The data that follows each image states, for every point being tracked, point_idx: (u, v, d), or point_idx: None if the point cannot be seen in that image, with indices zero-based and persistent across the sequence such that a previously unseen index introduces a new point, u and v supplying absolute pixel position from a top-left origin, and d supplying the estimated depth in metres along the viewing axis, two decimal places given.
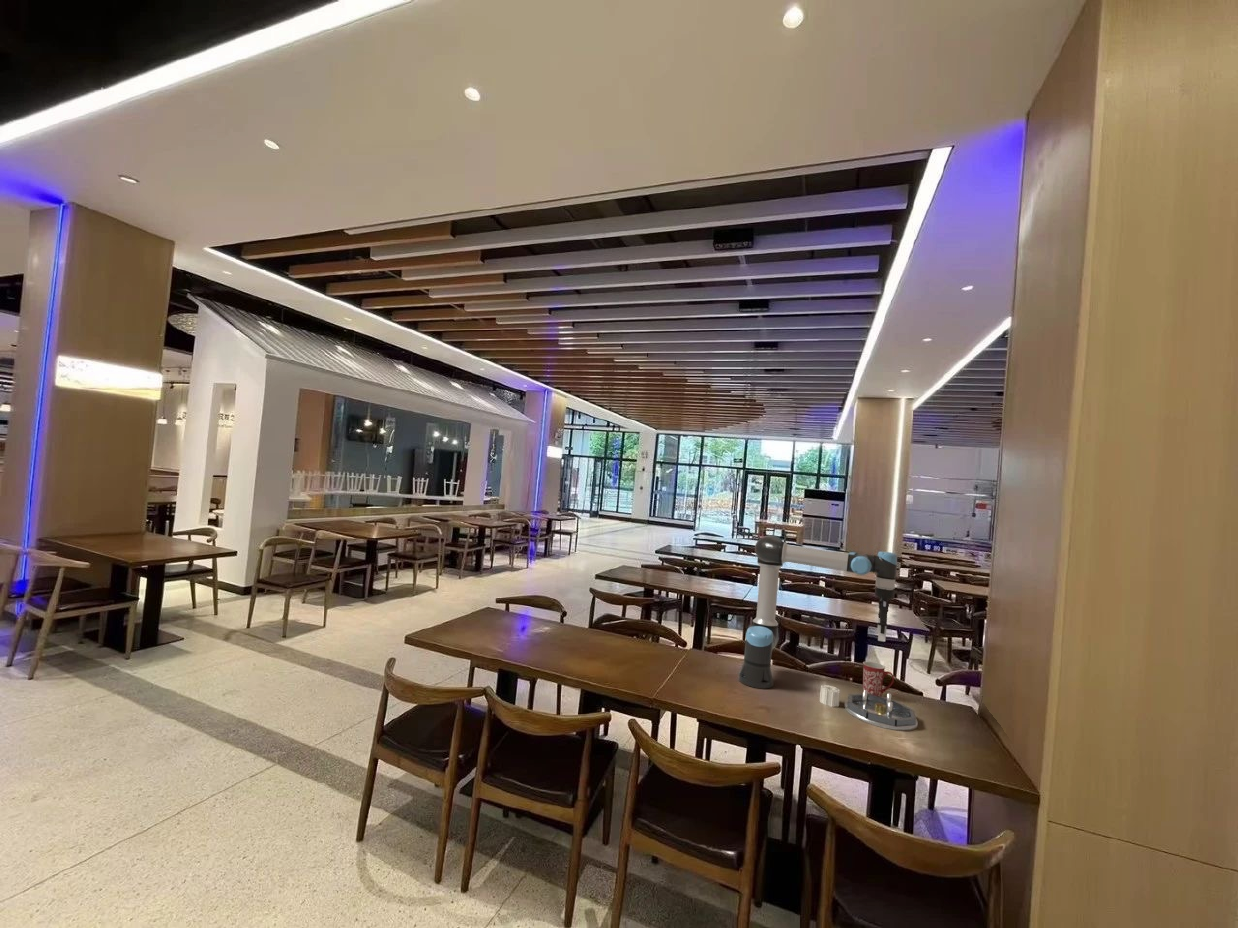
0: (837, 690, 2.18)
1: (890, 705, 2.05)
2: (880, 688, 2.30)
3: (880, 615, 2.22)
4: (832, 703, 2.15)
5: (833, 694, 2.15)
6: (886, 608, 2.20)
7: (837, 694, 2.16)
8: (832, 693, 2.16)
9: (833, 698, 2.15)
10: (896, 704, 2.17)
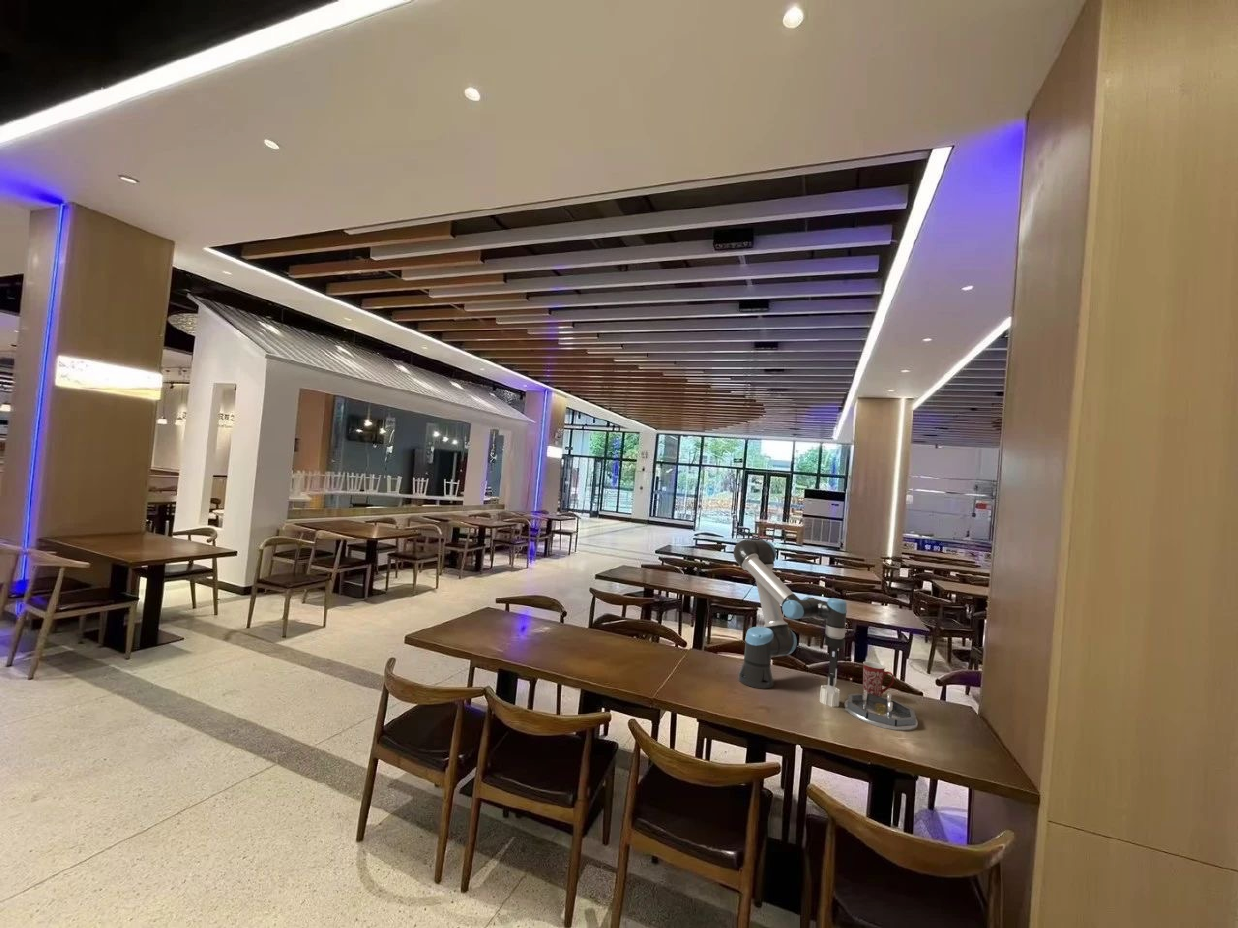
0: (837, 690, 2.18)
1: (890, 705, 2.05)
2: (880, 688, 2.30)
3: None
4: (832, 703, 2.15)
5: (833, 694, 2.15)
6: (835, 659, 2.13)
7: (837, 694, 2.16)
8: None
9: (833, 698, 2.15)
10: (896, 704, 2.17)
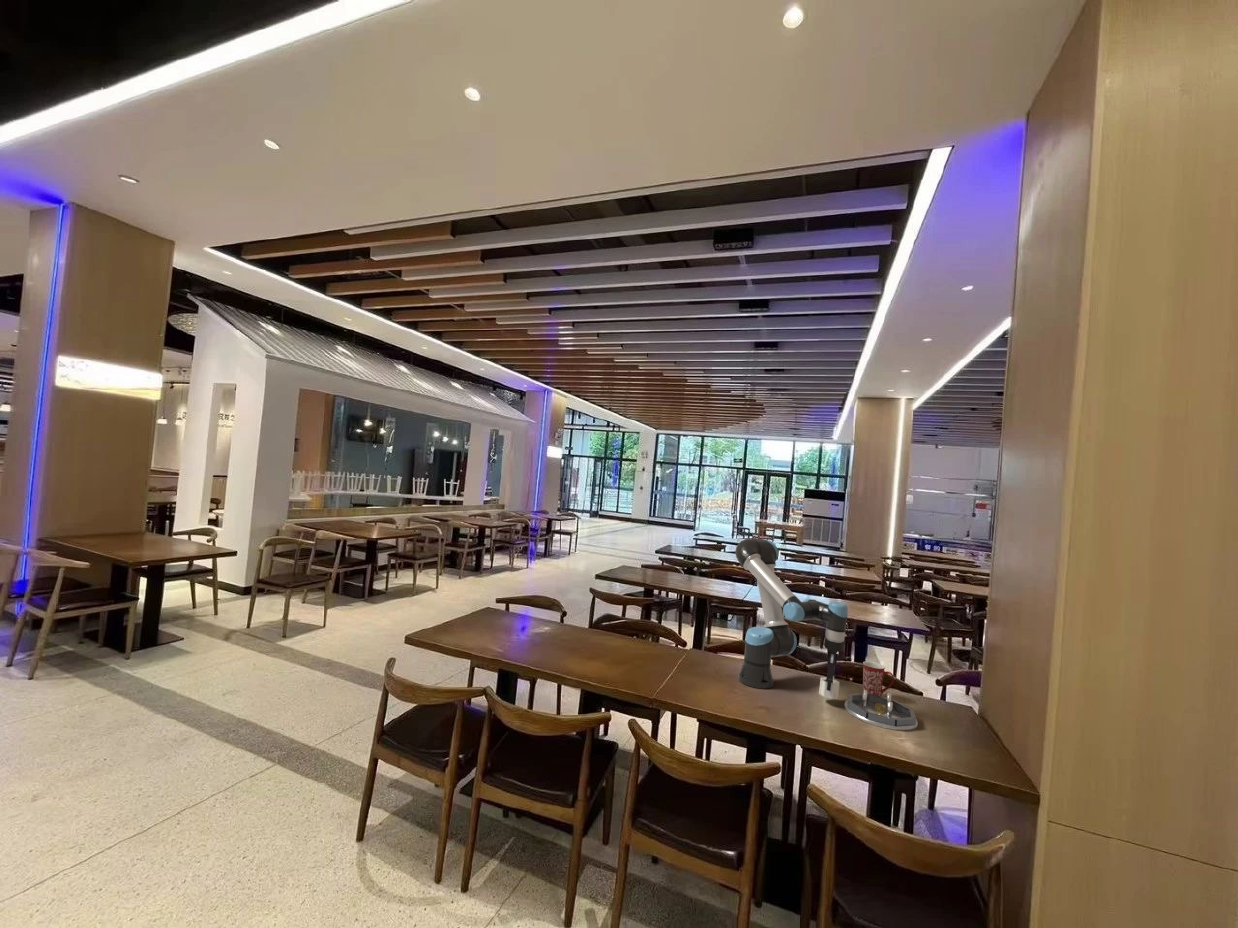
0: (836, 682, 2.18)
1: (890, 705, 2.05)
2: (880, 688, 2.30)
3: None
4: None
5: None
6: (833, 665, 2.14)
7: (836, 686, 2.17)
8: None
9: (832, 690, 2.16)
10: (896, 704, 2.17)
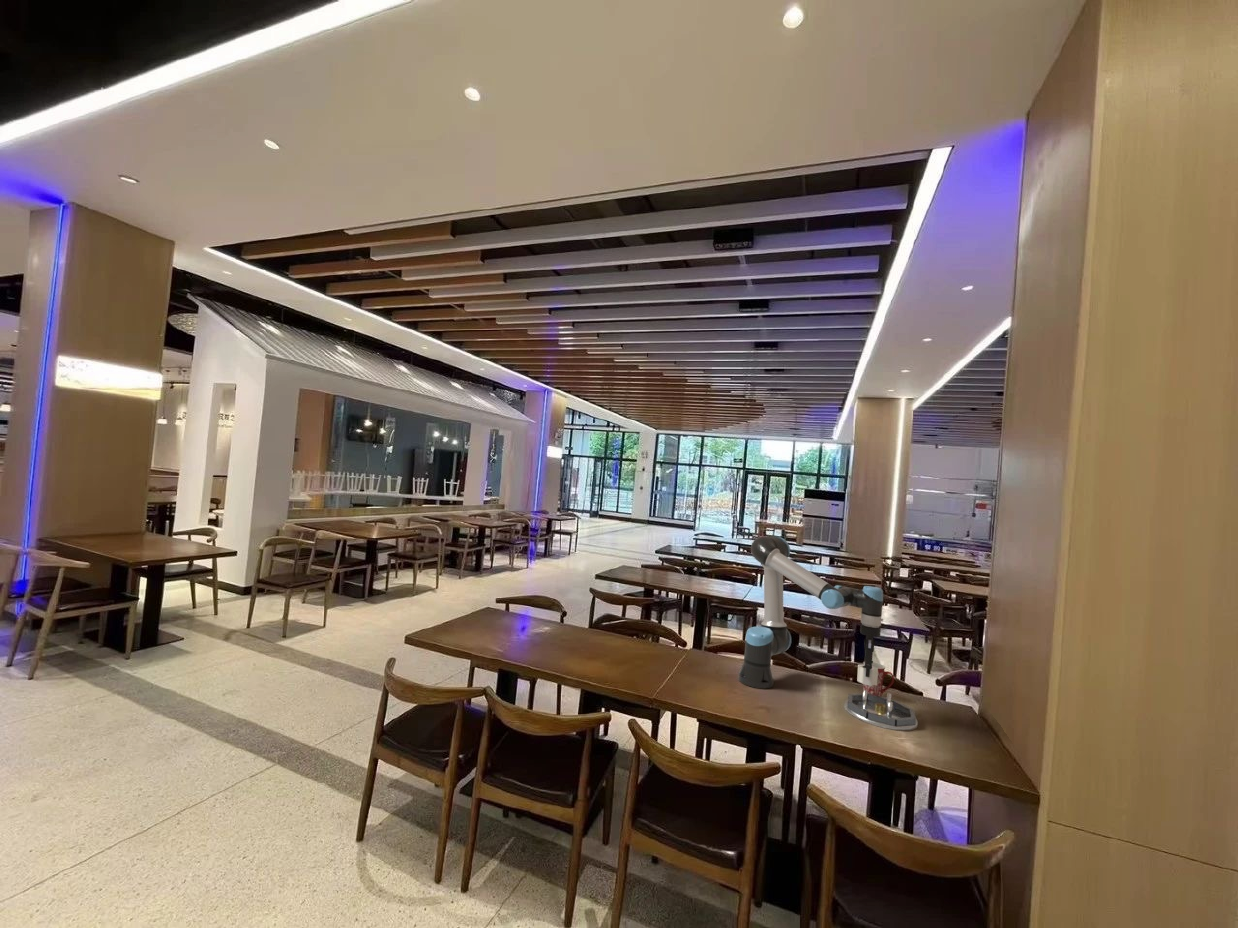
0: (875, 668, 2.13)
1: (890, 705, 2.05)
2: (880, 688, 2.30)
3: (865, 657, 2.12)
4: None
5: (871, 672, 2.11)
6: (871, 650, 2.09)
7: (875, 672, 2.12)
8: None
9: (871, 676, 2.11)
10: (896, 704, 2.17)
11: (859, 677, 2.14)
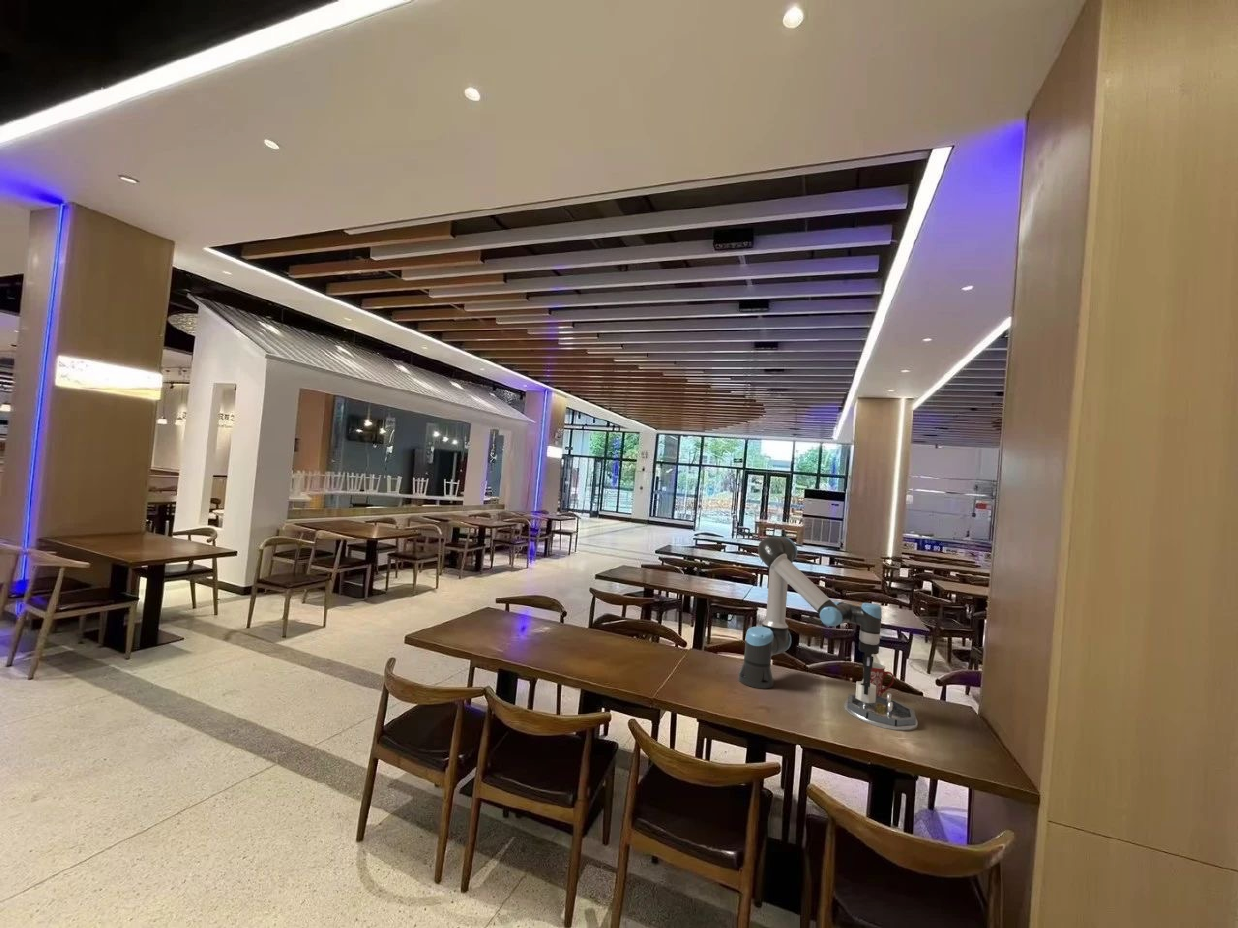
0: (873, 686, 2.13)
1: (890, 705, 2.05)
2: (880, 688, 2.30)
3: None
4: (869, 699, 2.11)
5: (870, 690, 2.11)
6: (870, 668, 2.09)
7: (874, 690, 2.11)
8: None
9: (870, 694, 2.11)
10: (896, 704, 2.17)
11: (857, 694, 2.14)
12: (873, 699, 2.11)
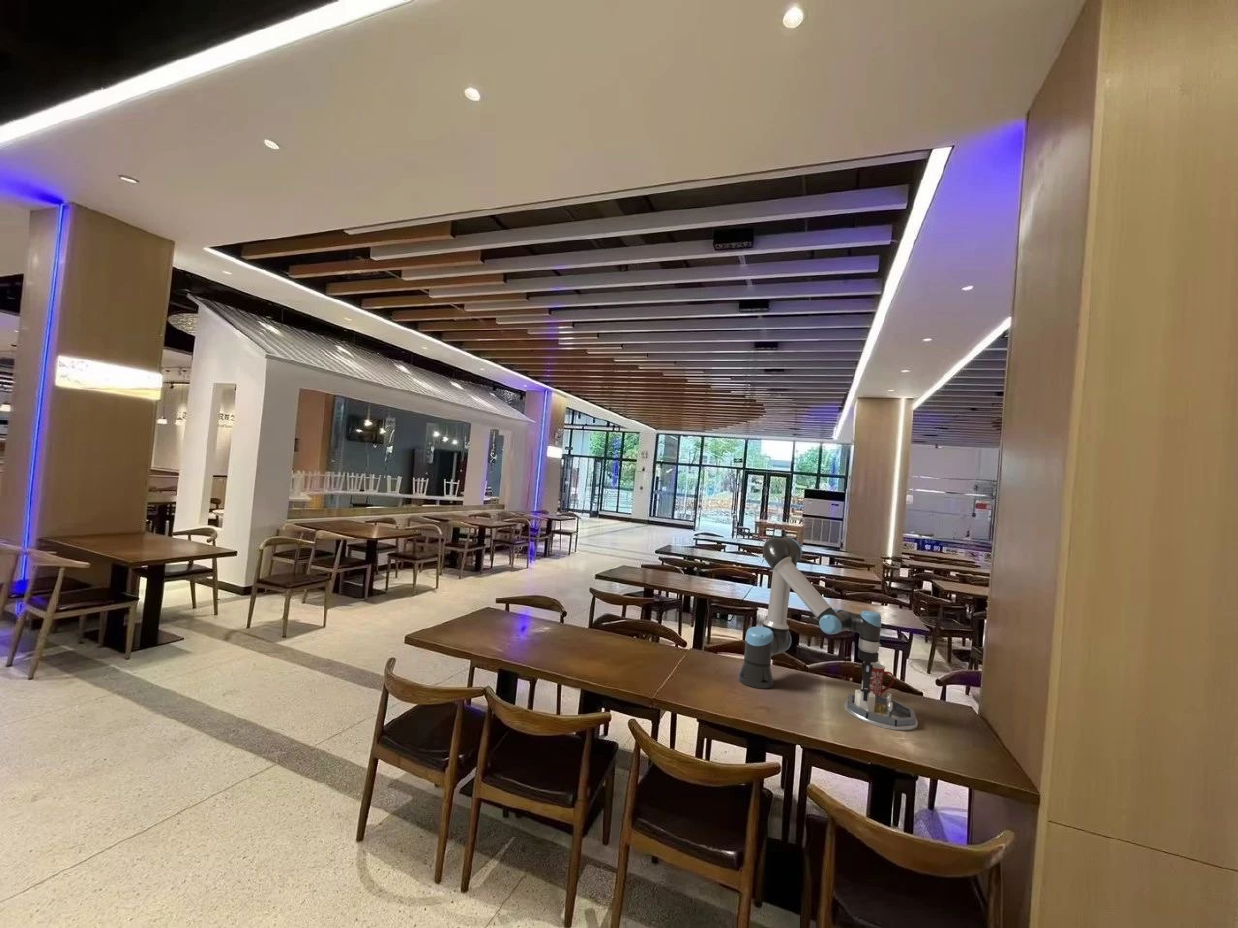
0: (872, 695, 2.13)
1: (890, 705, 2.05)
2: (880, 688, 2.30)
3: None
4: (868, 708, 2.11)
5: (869, 699, 2.11)
6: (869, 674, 2.08)
7: (873, 699, 2.11)
8: None
9: (869, 703, 2.11)
10: (896, 704, 2.17)
11: (856, 703, 2.14)
12: (872, 708, 2.11)
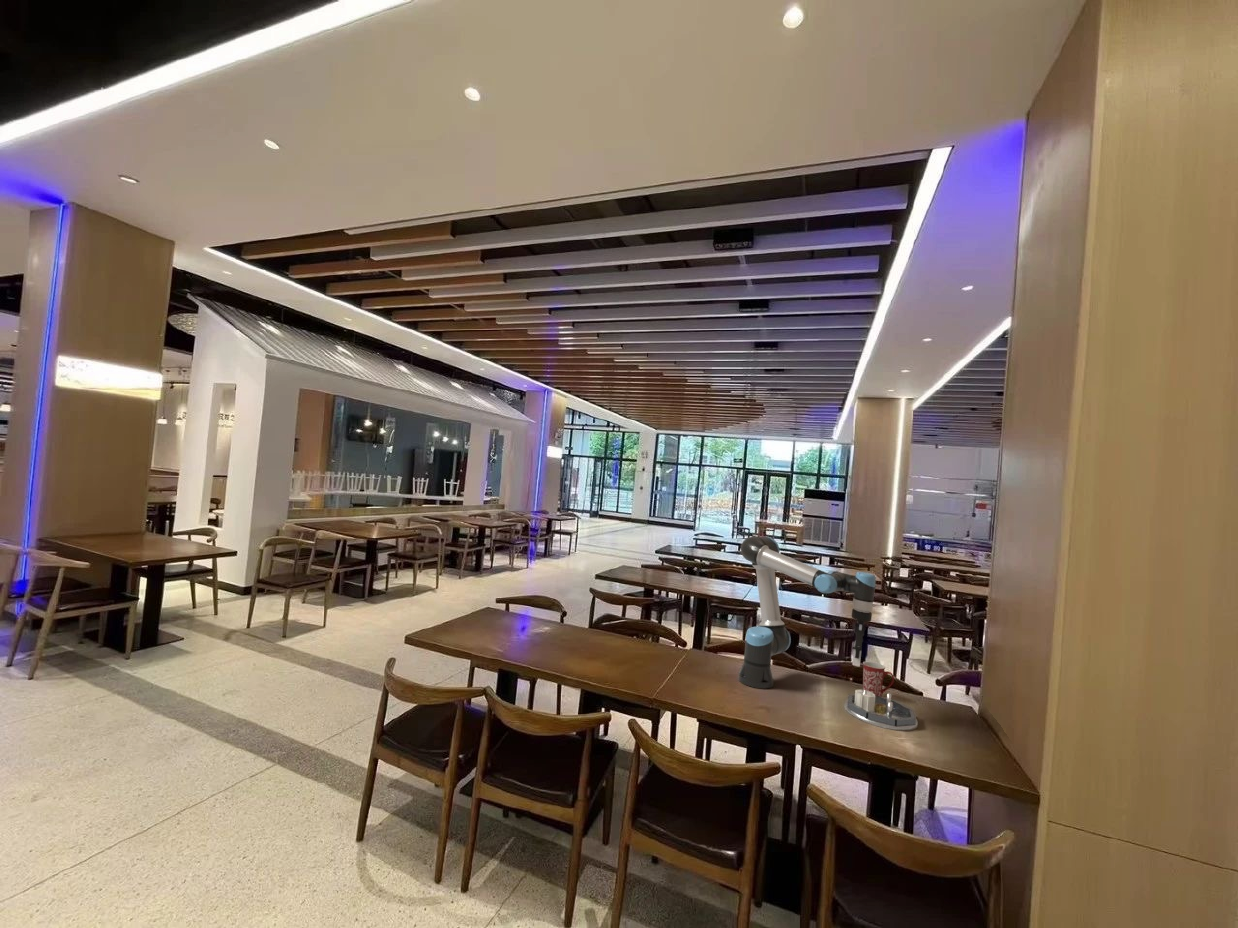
0: (872, 695, 2.13)
1: (890, 705, 2.05)
2: (880, 688, 2.30)
3: None
4: (868, 708, 2.11)
5: (869, 699, 2.11)
6: (862, 632, 2.12)
7: (873, 699, 2.11)
8: (867, 698, 2.11)
9: (869, 703, 2.11)
10: (896, 704, 2.17)
11: (856, 703, 2.14)
12: (872, 708, 2.11)
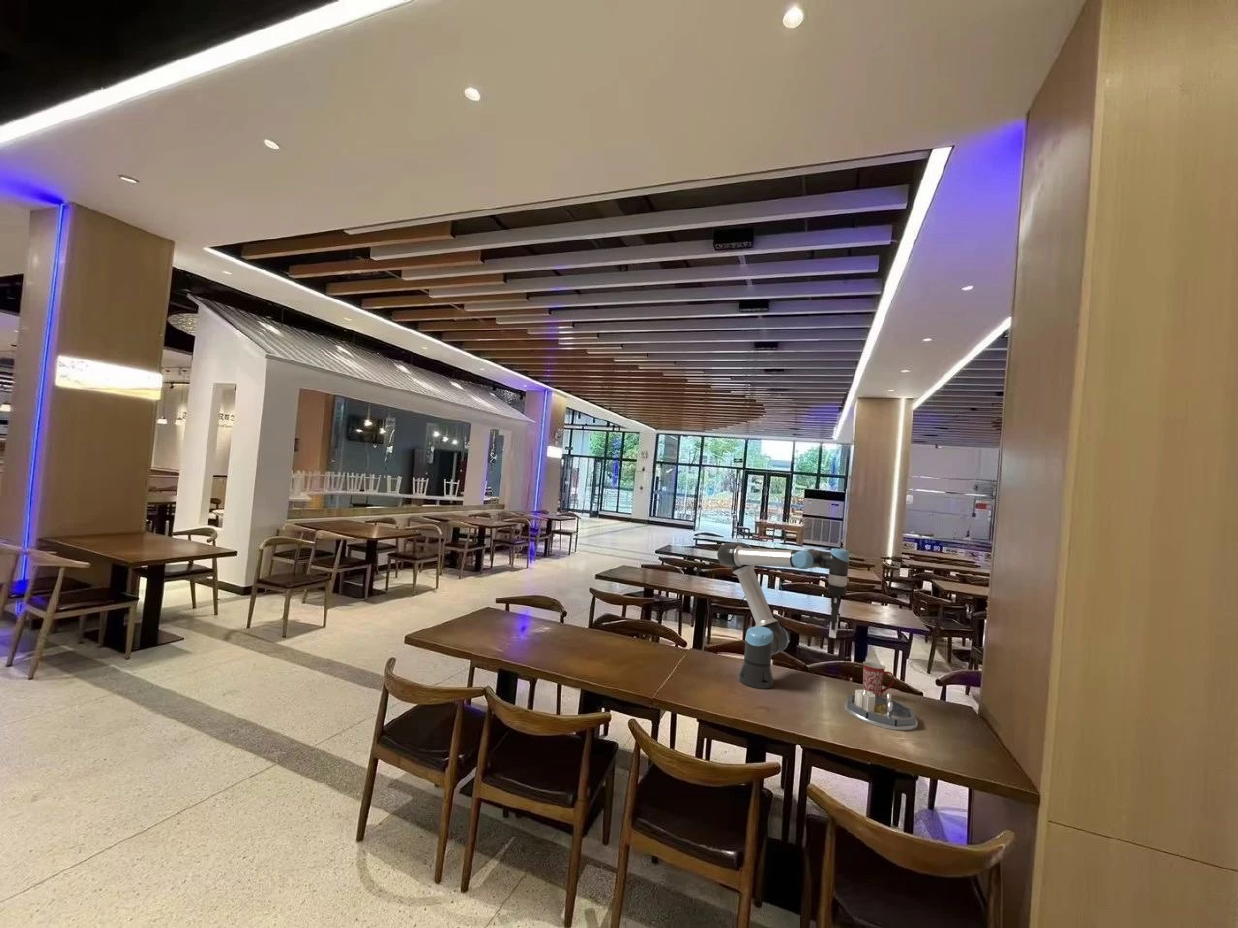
0: (872, 695, 2.13)
1: (890, 705, 2.05)
2: (880, 688, 2.30)
3: None
4: (868, 708, 2.11)
5: (869, 699, 2.11)
6: (837, 604, 2.21)
7: (873, 699, 2.11)
8: (867, 698, 2.11)
9: (869, 703, 2.11)
10: (896, 704, 2.17)
11: (856, 703, 2.14)
12: (872, 708, 2.11)
